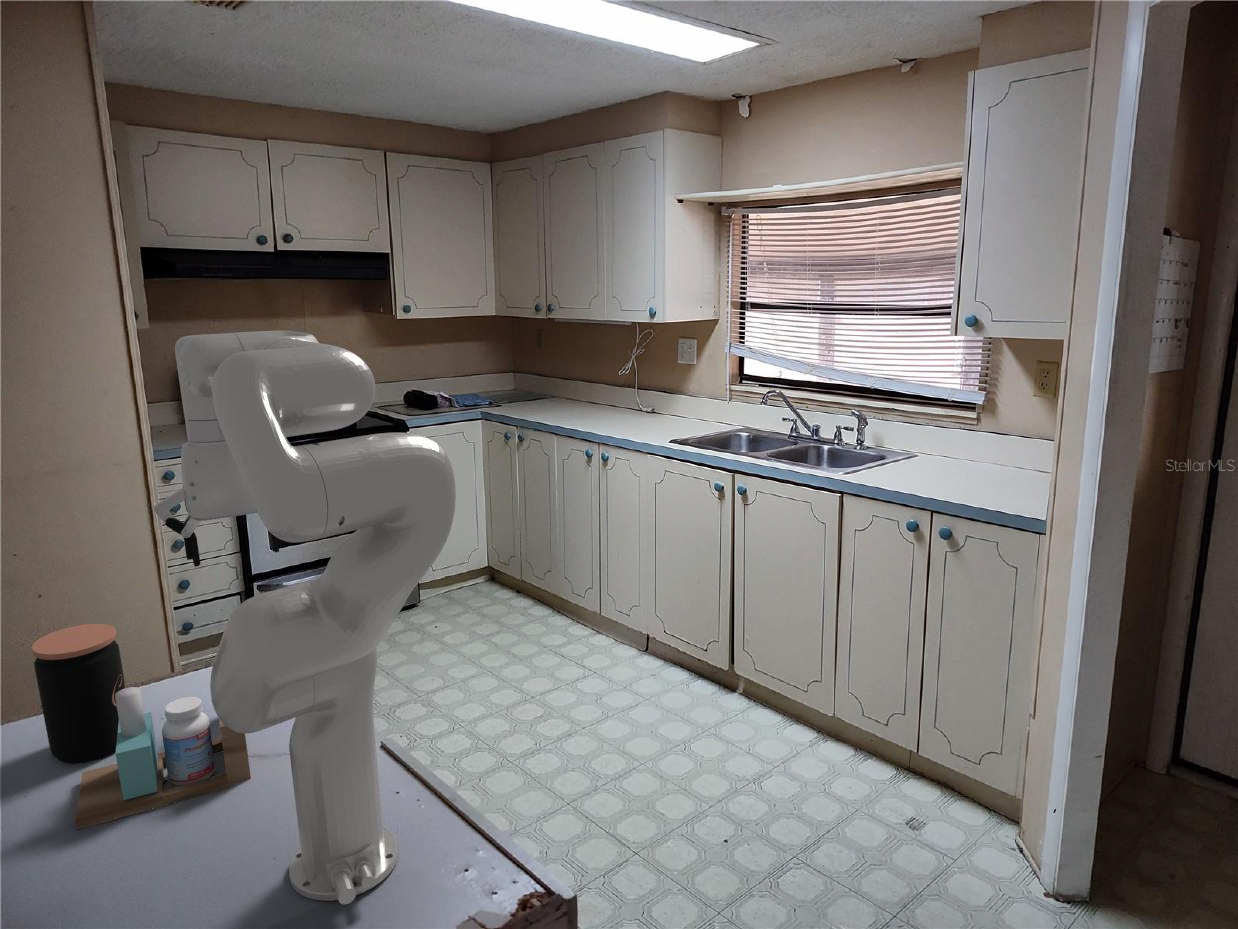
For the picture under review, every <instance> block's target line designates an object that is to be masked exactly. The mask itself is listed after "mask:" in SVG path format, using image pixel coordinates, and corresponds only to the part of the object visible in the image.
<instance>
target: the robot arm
mask: <svg viewBox="0 0 1238 929" xmlns="http://www.w3.org/2000/svg"><path fill="white" fill-rule="evenodd" d="M174 354H175V360H176V361H175V362H176V366H177V375H178V381H179V388H180V395H181V401H182V402H181V404H182V409H183V415H184V423H185V430H186V435H187V442H185V443H182V444H181V454H180V466H181V467H180V468H181V471H180V472H181V482H182V488H180V489H179V490H177V491H176V492H174V493H172V494H171V495H169V496H167V497H166V498H164V499H163V500H161V501H160V502H158V503H157V504H155V505H154V506H153V511H154V513H155V514H156V515H157V516H158V517H159V518H160V520H161V521H162V522H163V524H165V526H166V527H167V528H169V529H171V530H172V531H173V532H175V533H176V534H178V535H180V536H181V537H182V538H183V543H184V548H185V550H184V551H185V556H186V560H187V561H189V560H192V562H193V566H194V568H196V567H199V566H200V565H201V558H200V552H199V545H198V538H197V535H196V532H195V530H196V529H197V527H198V526H199V525H200V524H201V522H204V521H212V520H218V519H224V518H225V519H226V518H231V517H238V516H244V515H251V514H258V516H259V519H260V520H261V522H262V524H263V525H264V527H265V529H266V530H267V532H268V540H269V548H270V549H271V550H272V552H273V553H280V546H279V545H282V544H283V543H284V542H288V543H303V542H309V541H316V540H319V539H323V538H328V537H332V536H335V535H336V536H337V535H340V534H345V533H349V532H353V531H354V532H353V533H351V535H349V536H348V537H347V538H346V539H345V540H344V541H343V542H341V544H340V545H339V546H338V547H337V548H336V550H335V551H334V552H333V553H332V555H331V556H330V559H329V561H328V562H327V565H326V568H325V569H324V571H323V573H322V574H320V575H319V576H317V577H314V578H312V579H309V580H306V581H302V582H300V583H295V584H292V585H288V586H285V587H281V588H277V589H274V590H270V591H267V592H262V593H260V594H258V595H254V596H252V597H250V598H247V599H246V600H244V601H243V602H241V603H240V604H238V605H237V606H236V607H235V608H234V609H233V610H232V612H231V614H230V615H229V617H228V618H227V619H228V620H227V621H226V624H225V628H224V630H223V633H222V637H221V639H220V642H219V645H218V648H217V651H216V654H215V657H214V659H213V663H212V667H211V672H210V673H211V675H210V680H209V681H210V682H209V686H210V690H209V691H210V697H211V703H212V706H213V709H214V711H215V714H216V716H217V717H218V720H219V719H220V720H221V722H222V723H223V724H224V725H225V726H226V727H228V728H229V729H231V730H233V731H235V732H238V733H245V734H253V733H256V732H259V731H260V732H261V731H263V730H266V729H269V728H271V727H275V726H277V725H279V724H281V723H284V722H287V721H289V720H292V719H294V721H293V723H292V724H293V725H292V727H291V731H290V735H289V736H290V737H289V745H288V746H289V751H288V752H289V757H290V768H291V777H292V786H293V794H294V803H295V811H296V818H297V820H296V821H297V826H298V828H297V829H298V837H299V846H300V847H299V848H298V850H296V852H295V853H294V854H293V856H292V858H291V860H290V863H289V868H288V869H289V871H288V873H289V874H288V875H289V881H290V883H291V886H292V888H293V889H294V890H295V891H296V892H297V894H299V895H301V896H303V897H306V898H307V899H311V900H315V901H323V902H324V901H325V902H327V901H330V902H331V901H338V902H339V903H340V904H341V905H347V904H350V903H352V902H353V901H354V900H355V899H356V896H357V895H358V896H359V895H360V894H363V893H365V892H367V891H369V890H371V889H372V888H375V886H377V885H379V884H380V883H382V882H383V881H384V880H385V879H386V878H387V877H388V876H389V875H390V874H391V873H392V871H393V869H394V868H395V866H396V864H397V862H398V858H399V845H398V841H397V838H396V836H395V835H394V834H393V832H391V831H390V830H389V829H387V828H386V827H384V822H383V812H382V800H381V790H380V779H379V768H378V767H379V766H378V756H377V755H378V754H377V745H376V744H377V742H376V731H375V720H374V719H375V718H374V717H375V716H374V714H375V713H374V695H375V694H374V692H375V682H376V676H377V664H378V655H377V654H378V653H377V651H378V650H377V647H378V646H379V644H381V642H382V641H383V639H384V637H385V636H386V635H387V633H388V631H389V630H390V628H391V626H392V625H393V623H394V622H395V620H396V619H397V617H398V615H399V613H400V612H401V610H402V609H403V607H404V605H405V604H406V602H407V600H408V598H409V596H410V595H411V593H412V592H413V591H414V589H416V586H418V584H419V583H420V581H421V580H422V579H423V577H424V576H425V575H426V574H427V572H429V570H430V568H431V567H432V566H433V564H435V562H436V560H437V559H438V557H439V555H440V554H441V553H442V550H443V549H444V547H445V545H446V542H447V540H448V539H449V538H448V537H449V536H450V533H451V530H452V527H453V522H454V516H455V511H456V499H457V498H456V497H457V496H456V495H457V494H456V493H457V492H456V480H455V474H454V469H453V466H452V462H451V460H450V458H449V456H448V454H447V453H446V451H445V450H444V449H443V447H441V446H440V445H439V443H437V442H435V441H434V440H433V439H431V438H428V437H427V436H424V435H420V434H416V433H409V432H384V433H383V432H382V433H374V434H368V435H360V436H354V437H349V438H341V439H336V440H334V439H333V440H328V441H322V442H315V443H308V444H302V445H297V446H296V445H295V446H293V445H292V444H291V443H290V442H289V440H288V438H289V437H295V436H302V435H309V434H317V433H323V432H324V433H325V432H329V431H335V430H339V429H344V428H346V427H349V426H351V425H353V424H354V423H356V422H358V421H359V420H360V419H362V418H363V417H364V416H365V415H366V414H368V412H369V410H370V409H371V407H372V405H373V403H374V401H375V397H376V381H375V377H374V374H373V372H372V370H371V368H370V367H369V366H368V365H367V363H366V362H365V361H364V360H363V359H362V358H361V357H359V356H358V355H357V354H355V353H354V352H352V351H350V350H348V349H346V348H343V347H340V346H337V345H332V344H327V343H320V342H319V341H318V339H317V338H316V337H315V335H313V334H311V333H307V332H300V331H294V330H259V331H256V330H255V331H241V332H228V333H227V332H226V333H225V332H224V333H210V334H209V333H208V334H205V333H204V334H194V335H193V334H191V335H185V336H181V337H179V339H177V341H176V342H175V345H174ZM182 502H184V506H185V510H186V512H187V513H188V515H187V517H186V518H185V519H184V521H183V522H182V521H181V520H179V519H178V518H176V517H174V515H172V513H171V512H170V511H171V510H172V509H173V508H174V507H176V506H178V505H180V504H181V503H182Z"/></svg>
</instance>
